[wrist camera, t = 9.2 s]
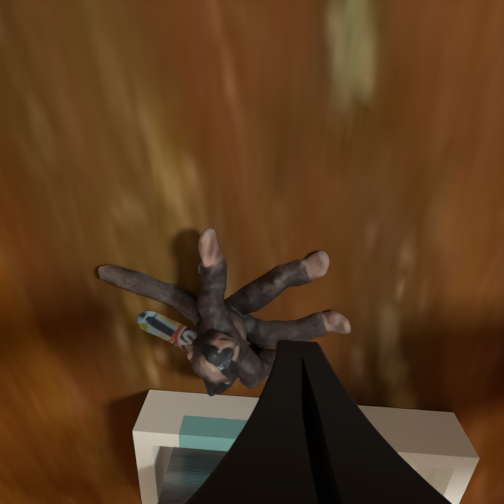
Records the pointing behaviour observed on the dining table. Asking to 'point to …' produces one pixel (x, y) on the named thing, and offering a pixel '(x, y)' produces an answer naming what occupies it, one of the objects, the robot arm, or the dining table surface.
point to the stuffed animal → (229, 316)
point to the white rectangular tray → (240, 408)
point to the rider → (187, 473)
